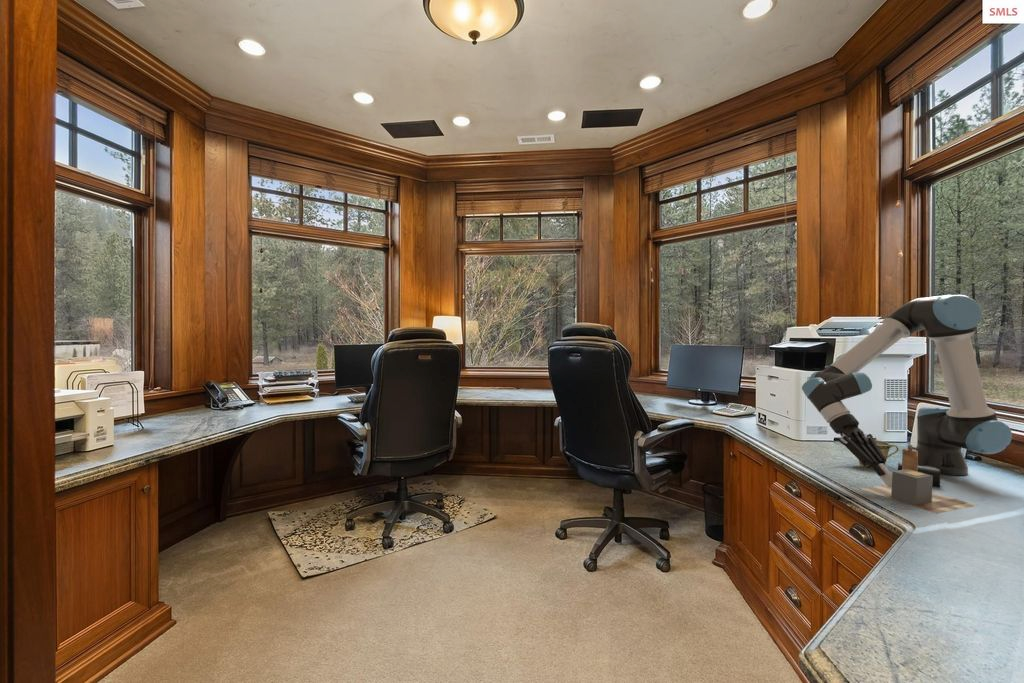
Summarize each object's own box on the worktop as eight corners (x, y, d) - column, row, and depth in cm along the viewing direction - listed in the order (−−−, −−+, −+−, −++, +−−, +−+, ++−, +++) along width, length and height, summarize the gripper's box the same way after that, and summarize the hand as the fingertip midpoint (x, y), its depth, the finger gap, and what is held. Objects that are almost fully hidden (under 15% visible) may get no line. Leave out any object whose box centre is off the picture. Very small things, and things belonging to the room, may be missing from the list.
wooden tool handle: (906, 485, 137) (907, 443, 136) (919, 489, 133) (920, 446, 133) (898, 486, 136) (899, 444, 135) (912, 490, 132) (913, 447, 132)
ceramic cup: (862, 471, 155) (863, 444, 154) (849, 463, 164) (850, 437, 164) (905, 474, 151) (906, 447, 151) (890, 466, 160) (890, 440, 160)
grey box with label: (906, 494, 128) (908, 468, 128) (931, 502, 122) (932, 475, 122) (891, 497, 126) (892, 470, 126) (915, 505, 120) (917, 477, 120)
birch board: (898, 486, 139) (898, 482, 139) (976, 509, 121) (976, 504, 121) (860, 492, 133) (860, 488, 133) (936, 517, 115) (936, 512, 115)
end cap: (897, 484, 141) (897, 464, 141) (898, 479, 146) (898, 459, 146) (940, 492, 134) (940, 471, 134) (939, 486, 139) (939, 466, 139)
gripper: (844, 423, 148) (897, 488, 132) (817, 425, 144) (868, 492, 129) (862, 411, 142) (919, 477, 127) (834, 413, 138) (889, 481, 123)
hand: (893, 485), depth 128 cm, fingers closed
